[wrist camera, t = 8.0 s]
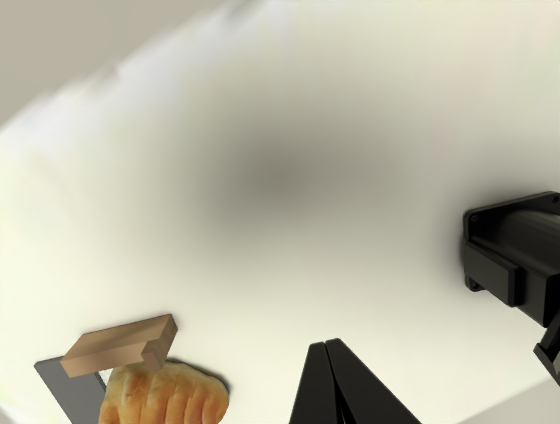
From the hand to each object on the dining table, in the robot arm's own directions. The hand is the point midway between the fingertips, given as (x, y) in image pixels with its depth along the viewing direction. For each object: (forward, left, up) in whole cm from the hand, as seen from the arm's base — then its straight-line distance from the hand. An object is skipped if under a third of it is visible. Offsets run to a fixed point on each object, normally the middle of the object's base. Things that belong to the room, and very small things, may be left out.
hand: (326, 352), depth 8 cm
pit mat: (+20, +14, -12) cm, 27 cm away
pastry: (+13, +12, -12) cm, 22 cm away
